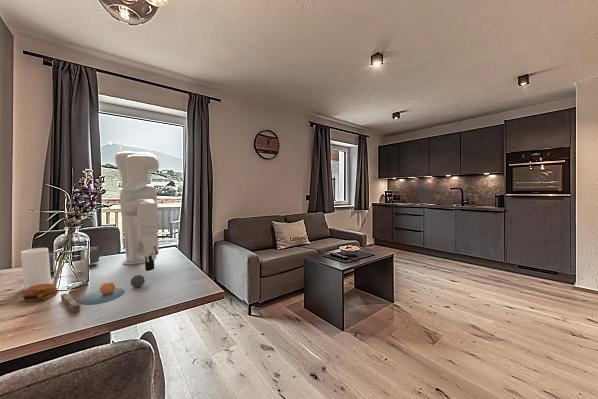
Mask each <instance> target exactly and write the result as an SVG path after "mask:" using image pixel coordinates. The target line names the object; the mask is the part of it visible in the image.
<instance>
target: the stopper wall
mask: <svg viewBox="0 0 598 399" xmlns="http://www.w3.org/2000/svg"><path fill="white" fill-rule="evenodd" d="M60 298H61V302H62V303H63V304H64V305H65V306H66V307H67V308H68V309H69V310H70V311H71V312H72V313H73V314H77V313H79V312H80V310H81V309H80V304H79V303H78V302H77V301H76V300H75V299H73V298H72V297H71V296H70V295H69V294H68V293H67V292H65V293H61V294H60Z"/></svg>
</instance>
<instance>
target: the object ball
mask: <svg viewBox="0 0 598 399" xmlns="http://www.w3.org/2000/svg"><path fill="white" fill-rule="evenodd" d="M115 288H116V285H115V283H114V282H112V281H105V282H103V283H102V284H101V285H100V287H99V290H100V292H101V293H102V294H104V295H109V294H111V293H112V292H113V291H114V290H115Z"/></svg>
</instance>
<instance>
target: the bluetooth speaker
mask: <svg viewBox="0 0 598 399" xmlns="http://www.w3.org/2000/svg"><path fill="white" fill-rule="evenodd" d="M89 247H90V264H89V265H91V264H95V263H98V262H99V261H100V254H99V248H98V246H89ZM48 253H49V264H50V272H54V271H53V262H54V261H53V252H48Z"/></svg>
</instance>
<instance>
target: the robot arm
mask: <svg viewBox="0 0 598 399" xmlns="http://www.w3.org/2000/svg"><path fill="white" fill-rule="evenodd" d="M114 161H115V164H116V165H115V166H116V167H117V170H118V171H119V174H120V176H121V186H122V189H121V190H120V192H119V208H120V214H121V219H122V225H123V231H124V245H125V246H124V247H125V259H124V260H122V264H123V265H126V266H127V265H130V266H132V265H139V264H143V263H144V270H145V271H146V272H149V271H153V270H155V260H156V259H157V256H158V255H159V254H160V253H159V252H160V250H159V239H158V216H159V208H158V195H157V189H156V187H155V186H154V185H153V184H149V183H150V180H149V174H148V173H153V172H154V173H156V172H158V171H159V167H160V163H159V160H158V158H157V156H156V155H154V154H153V153H151V152H136V151H121V152H117V153H116V154H115V158H114Z"/></svg>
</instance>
